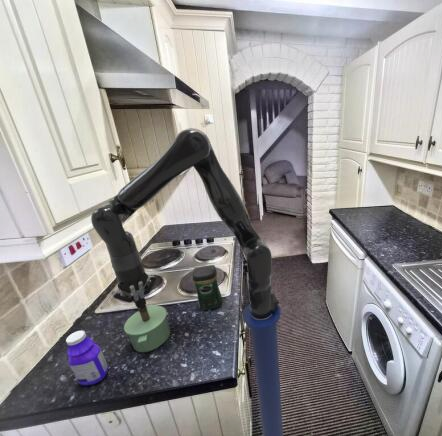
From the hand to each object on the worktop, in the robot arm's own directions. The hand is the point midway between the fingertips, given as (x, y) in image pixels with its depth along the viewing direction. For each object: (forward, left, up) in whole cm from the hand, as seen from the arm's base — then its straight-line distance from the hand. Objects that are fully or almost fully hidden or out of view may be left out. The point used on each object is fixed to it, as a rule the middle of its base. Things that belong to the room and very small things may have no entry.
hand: (141, 306), depth 79 cm
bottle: (+14, +10, -15) cm, 23 cm away
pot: (0, 0, -14) cm, 15 cm away
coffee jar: (-21, -10, -15) cm, 28 cm away
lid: (0, 0, -6) cm, 6 cm away
